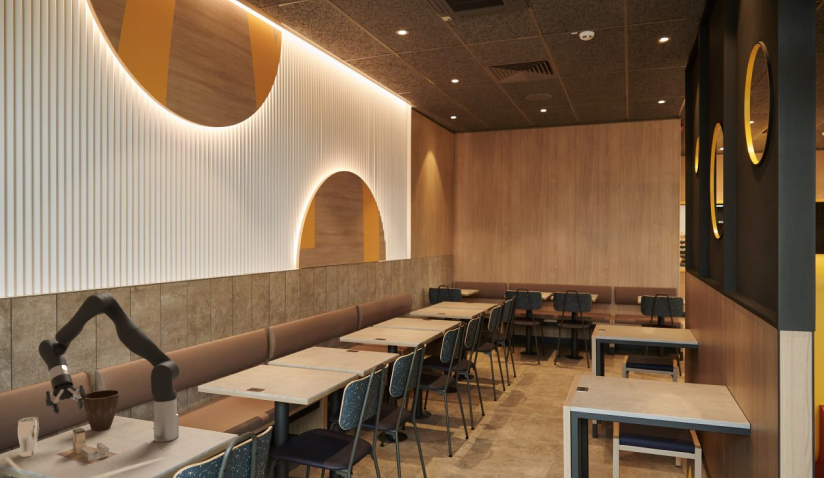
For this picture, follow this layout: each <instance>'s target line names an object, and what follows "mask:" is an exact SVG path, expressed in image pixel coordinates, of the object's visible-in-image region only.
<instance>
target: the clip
mask: <svg viewBox="0 0 824 478" xmlns="http://www.w3.org/2000/svg"><path fill="white" fill-rule="evenodd" d="M96 449H97V451H95V452H91V451H90V450H88V449H87V448H85V447H82V448H80V450H81V457H82V458H84V459H85V460H86V461H88V462H91V461H94V460H98V459H101V458H105V457H108V458H110V457H109V452H110V449H109V447H108V446H107V445H105V444H104V443H102V442H97V443H96Z"/></svg>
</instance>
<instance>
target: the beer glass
mask: <svg viewBox="0 0 824 478" xmlns="http://www.w3.org/2000/svg"><path fill="white" fill-rule="evenodd" d="M39 425H40V424H39V417H38V416H30V417H29V416H28V417H24V418H20V419H19V420H18V422H17V437H18V442H19V447H20V448H19V449H20V452H19V457H22V458H23V457H30V456H34V455H36V454H37V453H38V450H37V443H38V439H39V431H40V426H39Z"/></svg>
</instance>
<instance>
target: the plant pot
mask: <svg viewBox="0 0 824 478" xmlns="http://www.w3.org/2000/svg"><path fill="white" fill-rule="evenodd" d="M120 395H121V394H120V390H116V389H105V390H97V391H92V392H91V391H90V392H87V393H86V397H85V399H84V400H82V402H83V407H84V412H85V416H86V418H87V421H88V424H89V427H90V429H91V430H92V431H93V432H102V431H103V432H104V431H108V430H109V429H111V427H112V424H113V422H114V419H115V415H116V413H117V409H118V405H119V401H120V400H119V399H120Z"/></svg>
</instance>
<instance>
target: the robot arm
mask: <svg viewBox="0 0 824 478" xmlns="http://www.w3.org/2000/svg"><path fill="white" fill-rule="evenodd" d="M103 314H105V315H106V316H107V318H109V319H110V320H111V321H112V323H113V324H114V327H115V331H116V335H117V338H118V339H119V341H120V342H121V343H122V345H124V346H125V348H127V350H128V351H130V352H131V353H133V354H135V355H136V356H138V357H140V358H143V359H144V360H146V361H147V362H149V364H151V366H153V368H152V370H151V373H150V387H151V390H150V391H151V395H152V397H153V441H154V442H157V443H165V442H171V441H173V440H175V439H177V438H178V437H179V436H180V430H179V428H180V418H179V416H180V415H179V413H178V409H177V406H178V405H177V403H178V402H177V400H178V399H177V396H178V394H177V391H176V390H174V389H173V381H175V380H176V379H177V378H178V377H179V375H180V367H179V366H178V363H176V361H174V360H173V359H172V358H171V357H169V356H168V355H167V354H166V353H165V352H164V351H163V350H161V349H160V348H159V347H158V344H156V343H155V342H154V341H153V340H152V339H151V338H150V337H149V336H148V335H147V333H146V332H145V331H144V330H143V329H142V328H141V327H140V326H139V324H137V323H136V322H135V321H134V320H133V319H132V318H131V317H130V315H128V314H127V312H126V311H125V310H124V308H123V307H122V306H121V305H120V303H119V302H118V300H117V299H116V298H115V297H114V295H113V294H111V293H110V292H106V291H102V292H98V293H93V294H91V295H89V296H88V297H87V298H86V299H85V300H84V301H83V302H82V304H81V305H80V307H79V308H78V310H76V312H75V313H74V315H73V316H72V317H71V318H70V319H69V320H68V322H66V323H65V324H64V325H63V326H62V327H61V328H60V329H59V330H57V332H56V334H55V336H54V337H55V340H54V339H44V340H42V341H41V342H40V343H39V345H38V353H39V355H40V357H41V359H42V361H44V363H45V364H46V366H47V370H48V373H49V381H50V384H51V388H52V391H49V390H47V391H46V392H45V394H44V397H45V404H46V407H51V408H52V410H53V411H52V412H53V413H55V414H56V415H58V414H59V412H60V408H59V405H58V402H59V401H60V400H61V401H65V400H70V399H72V400H74V401H76V403H77V406H78V410H82V408H83V407H84V403H83V400H84V399H85V397H86V394H87V393H86V391H85V388H84V386H83V385H82V384H80V385H79V386H77V387H76V386H75V385H74V382H73V378H72V376H71V371H70V369H69V367H68V363H67V360H66V357H64V356H63V355H64V354H65V353H66V352H67V350H68V348H69V346H70V345H71V343H72V342H73V340H75V339H76V338H77V337H78V336H79V335H80V334H81V333H82V331H83V329H84V327H85V325H86V324H87V323H89V321H90V320H91V319H93V318H95V317H96V316H99V315H103ZM78 393H79V394H78ZM53 396H54V397H55V398H54V400H53V401H52V400H51V399H52V398H51V397H53Z"/></svg>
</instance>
